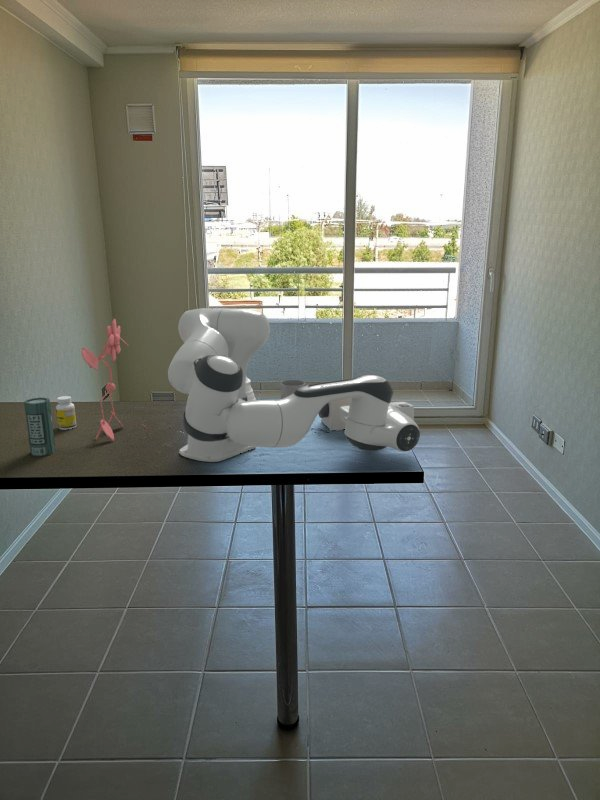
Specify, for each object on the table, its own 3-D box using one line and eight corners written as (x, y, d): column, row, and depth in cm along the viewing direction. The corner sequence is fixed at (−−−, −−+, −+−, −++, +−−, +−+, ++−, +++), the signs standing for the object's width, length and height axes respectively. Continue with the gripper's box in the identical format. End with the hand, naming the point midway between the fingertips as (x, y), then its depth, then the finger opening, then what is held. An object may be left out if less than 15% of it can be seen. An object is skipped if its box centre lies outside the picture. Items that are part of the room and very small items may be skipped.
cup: (305, 414, 200) (305, 385, 197) (280, 414, 200) (280, 386, 197) (304, 407, 208) (304, 379, 206) (281, 407, 208) (280, 379, 205)
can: (58, 448, 169) (52, 397, 165) (49, 456, 163) (43, 403, 159) (37, 448, 169) (30, 397, 165) (27, 456, 163) (20, 403, 159)
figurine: (82, 449, 168) (72, 325, 159) (111, 421, 193) (104, 313, 183) (136, 450, 168) (129, 327, 158) (158, 422, 193) (154, 314, 183)
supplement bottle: (55, 427, 187) (51, 397, 184) (72, 423, 190) (69, 394, 188) (62, 431, 183) (59, 400, 180) (79, 427, 187) (76, 397, 184)
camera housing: (379, 426, 188) (380, 390, 184) (322, 431, 183) (323, 394, 180) (367, 417, 197) (368, 382, 194) (313, 421, 193) (313, 386, 189)
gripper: (347, 433, 159) (331, 418, 172) (418, 427, 164) (397, 412, 176) (348, 410, 157) (332, 396, 170) (419, 405, 162) (398, 392, 175)
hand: (366, 404), depth 173 cm, fingers closed on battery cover, 5 cm apart
